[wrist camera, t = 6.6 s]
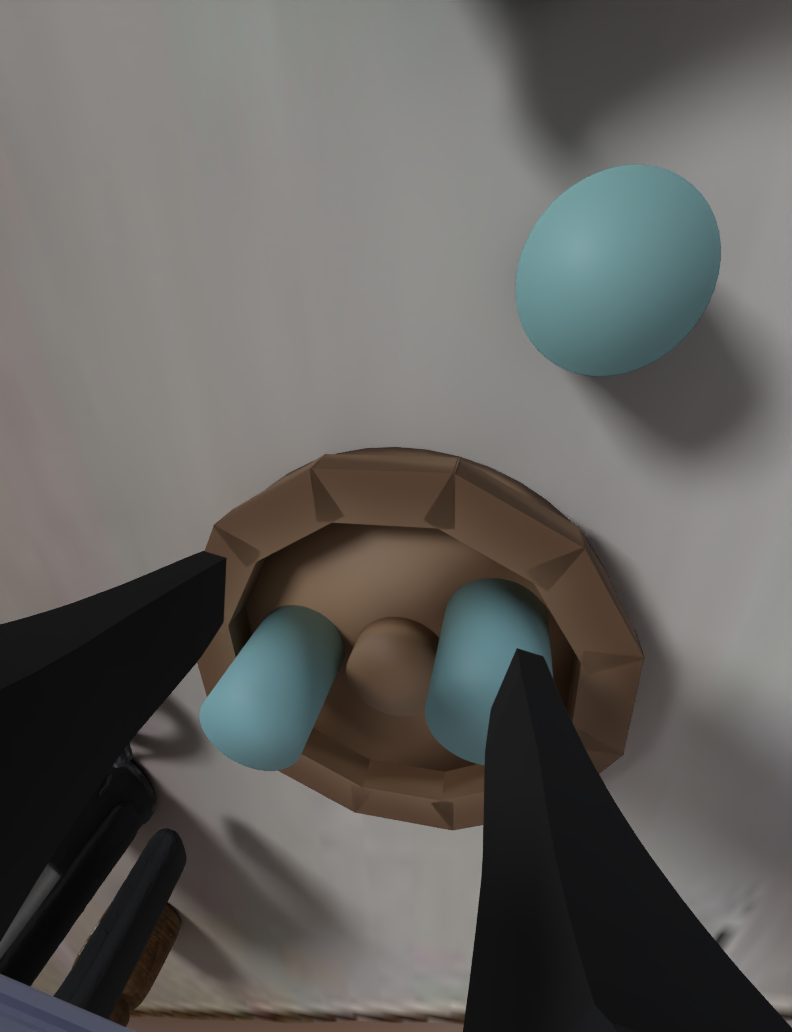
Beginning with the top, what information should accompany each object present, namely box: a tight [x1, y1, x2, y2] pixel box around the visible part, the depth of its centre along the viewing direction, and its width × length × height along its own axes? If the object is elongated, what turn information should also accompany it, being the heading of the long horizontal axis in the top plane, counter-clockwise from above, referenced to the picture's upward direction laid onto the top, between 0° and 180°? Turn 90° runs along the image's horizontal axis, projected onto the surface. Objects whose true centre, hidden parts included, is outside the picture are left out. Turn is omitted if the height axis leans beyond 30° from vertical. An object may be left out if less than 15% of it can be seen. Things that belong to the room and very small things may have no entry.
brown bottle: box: [72, 901, 180, 1027], centre depth 35 cm, size 6×6×12 cm
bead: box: [200, 605, 345, 771], centre depth 20 cm, size 4×4×5 cm
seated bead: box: [425, 578, 553, 765], centre depth 17 cm, size 4×4×5 cm
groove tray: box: [197, 447, 644, 830], centre depth 21 cm, size 18×18×2 cm
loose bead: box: [516, 165, 721, 376], centre depth 13 cm, size 4×4×5 cm
